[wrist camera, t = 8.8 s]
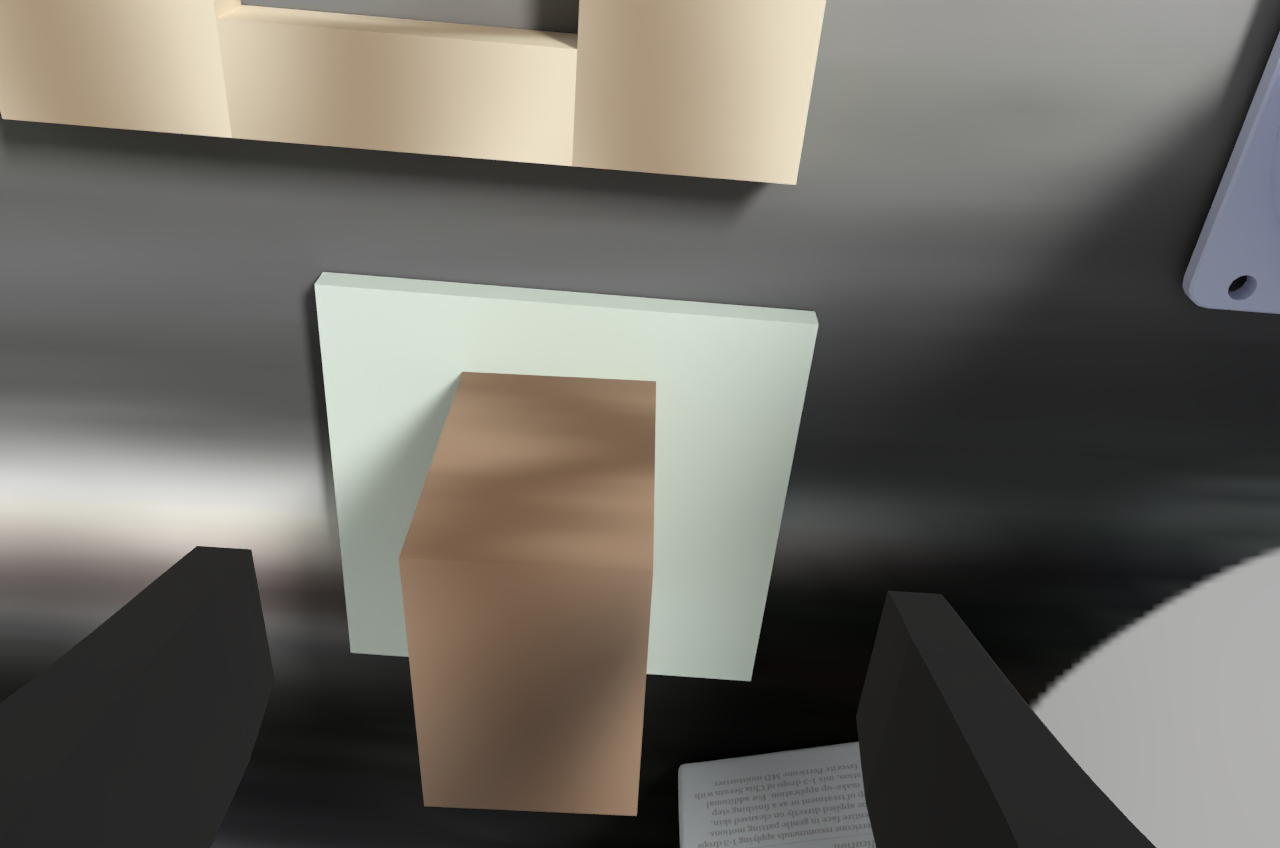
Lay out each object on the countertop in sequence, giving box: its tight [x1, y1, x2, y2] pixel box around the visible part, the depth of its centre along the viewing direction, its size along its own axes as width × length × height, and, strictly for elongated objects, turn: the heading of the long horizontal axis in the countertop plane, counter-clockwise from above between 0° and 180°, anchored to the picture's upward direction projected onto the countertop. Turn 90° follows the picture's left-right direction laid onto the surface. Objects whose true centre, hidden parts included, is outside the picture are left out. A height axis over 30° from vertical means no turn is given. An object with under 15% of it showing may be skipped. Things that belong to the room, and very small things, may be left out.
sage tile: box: [314, 272, 819, 681], centre depth 23 cm, size 10×10×1 cm
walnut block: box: [399, 372, 656, 816], centre depth 20 cm, size 4×6×6 cm, turn 177°
